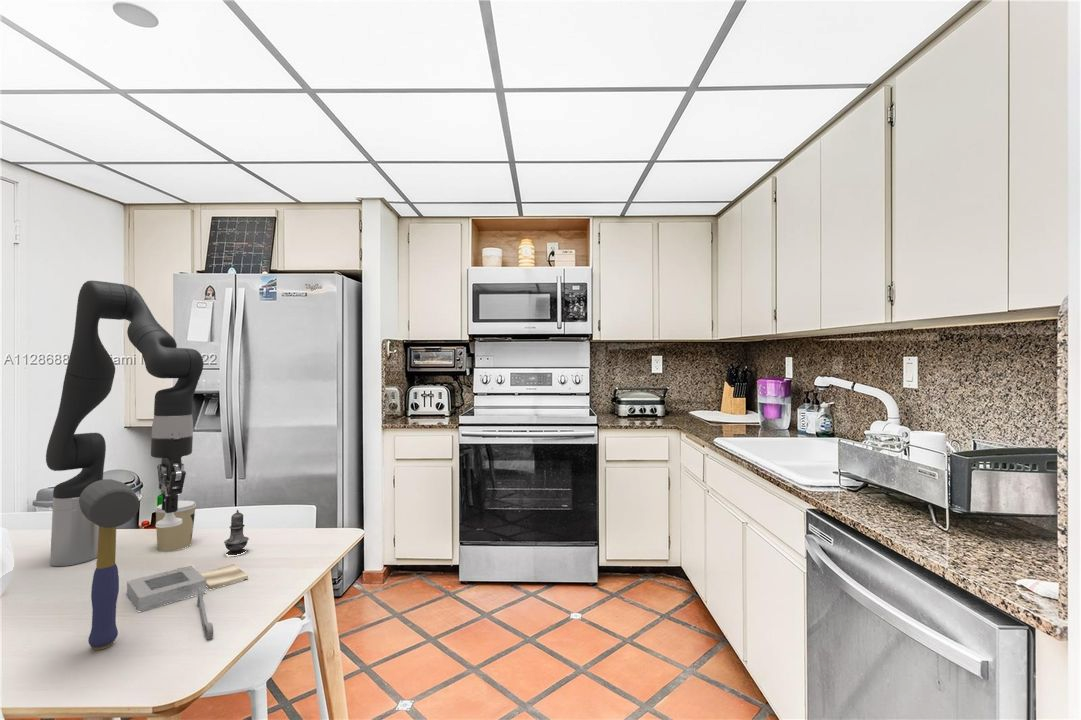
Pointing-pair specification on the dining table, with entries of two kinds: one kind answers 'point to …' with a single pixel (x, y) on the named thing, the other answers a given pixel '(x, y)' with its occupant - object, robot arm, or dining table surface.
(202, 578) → the socket block
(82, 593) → the dining table surface
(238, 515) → the salt shaker
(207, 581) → the birch pad
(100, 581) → the rubber mallet
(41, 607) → the dining table surface
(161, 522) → the chess piece
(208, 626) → the combination wrench
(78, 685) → the dining table surface
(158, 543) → the coffee cup
